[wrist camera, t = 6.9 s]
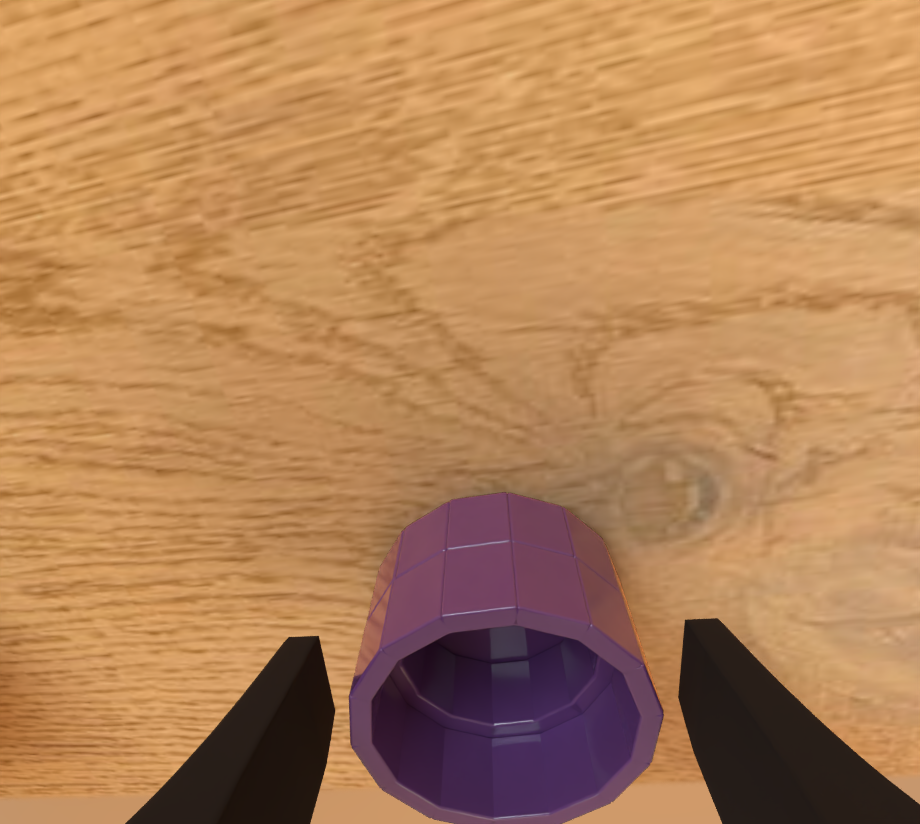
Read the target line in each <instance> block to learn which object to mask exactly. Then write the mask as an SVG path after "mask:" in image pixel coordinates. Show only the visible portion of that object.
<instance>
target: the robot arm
mask: <svg viewBox="0 0 920 824" xmlns="http://www.w3.org/2000/svg"><path fill="white" fill-rule="evenodd" d="M678 698H679V702H680V705H681V709H682V713H683V716H684V720H685V724H686V727H687V731H688V734H689V737H690V741H691V744H692V748H693V751H694V754H695V757H696V759H697V762H698V764H699V767H700V769H701V772H702V774H703V777H704V779H705V782H706V784H707V787H708V789H709V792H710V794H711V797H712V799H713V802H714V804H715V807H716V809H717V811H718V814H719V816H720V819H721V821H722V824H920V804H918V803H917V802H916V801H915V800H913V799H912V798H911V797H909V796H908V795H907V794H906V793H904V792H903V791H902V790H901V789H899V788H898V787H897V786H895V785H894V784H893V783H891V782H890V781H889V780H888V779H886V778H885V777H884V776H883V775H882V774H880V773H879V772H878V771H877V770H876V769H874V768H873V767H872V766H871V765H870V764H868V763H867V762H866V761H865V760H864V759H863V758H861V757H860V756H859V755H858V754H857V753H856V752H854V751H853V750H852V749H851V748H850V747H849V746H848V745H847V744H845V743H844V742H843V741H842V740H841V739H840V738H839V737H837V736H836V735H835V734H834V733H833V732H832V731H831V730H830V729H829V728H827V727H826V726H825V725H824V724H823V723H822V722H821V721H820V720H819V719H818V718H817V717H815V716H814V715H813V714H812V713H811V712H810V711H809V710H808V709H807V708H806V707H805V706H804V705H803V704H802V703H801V702H800V701H799V700H798V699H797V698H796V697H795V696H794V695H792V694H791V693H790V692H789V691H788V690H787V689H786V688H785V687H784V686H783V685H782V684H781V683H780V682H779V681H778V680H777V679H776V678H775V677H774V676H773V675H772V674H771V673H770V672H769V671H768V670H767V669H766V668H765V667H764V666H763V665H762V664H761V663H760V662H759V661H758V660H757V659H756V658H755V657H754V655H753V654H752V653H751V652H750V651H749V650H748V649H747V648H746V647H745V646H744V645H743V644H742V643H741V642H740V641H739V640H738V639H737V638H736V637H735V636H734V635H733V634H732V633H731V631H730V630H729V629H728V628H727V627H726V626H725V625H724V624H723V623H722V622H721V621H720V620H718V619H717V618H715V619H693V620H685V626H684V638H683V649H682V661H681V673H680V684H679V696H678ZM334 715H335V707H334V703H333V698H332V694H331V689H330V685H329V680H328V676H327V671H326V667H325V662H324V658H323V653H322V649H321V644H320V640H319V636H306V637H289V638H288V639H287V640H286V641H285V642H284V643H283V644H282V646H281V647H280V648H279V649H278V651H277V652H276V653H275V655H274V656H273V657H272V658H271V660H270V661H269V662H268V664H267V665H266V666H265V667H264V669H263V670H262V671H261V673H260V674H259V675H258V676H257V678H256V679H255V680H254V682H253V683H252V684H251V685H250V687H249V688H248V689H247V690H246V692H245V693H244V694H243V695H242V697H241V698H240V699H239V700H238V701H237V703H236V704H235V705H234V706H233V708H232V709H231V710H230V711H229V712H228V714H227V715H226V716H225V717H224V718H223V720H222V721H221V722H220V723H219V724H218V726H217V727H216V728H215V729H214V730H213V732H212V733H211V734H210V735H209V736H208V737H207V738H206V740H205V741H204V742H203V743H202V744H201V745H200V746H199V747H198V748H197V750H196V751H195V752H194V753H193V754H192V755H191V756H190V757H189V758H188V760H187V761H186V762H185V763H184V764H183V765H182V766H181V767H180V768H179V770H178V771H177V772H176V773H175V774H174V775H173V776H172V777H171V778H170V779H169V780H168V781H167V782H166V783H165V784H164V786H163V787H162V788H161V789H160V790H159V791H158V792H157V793H156V794H155V795H154V796H153V797H152V798H151V799H150V800H149V801H148V802H147V803H146V804H145V805H144V806H143V807H142V808H141V809H140V810H139V811H138V812H137V813H136V814H135V815H134V816H133V817H132V818H131V819H130V820H128V821H127V822H126V823H125V824H310V822H311V819H312V814H313V811H314V808H315V804H316V801H317V797H318V793H319V790H320V786H321V782H322V779H323V775H324V771H325V768H326V764H327V758H328V752H329V746H330V741H331V734H332V728H333V721H334Z"/></svg>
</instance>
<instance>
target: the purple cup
mask: <svg viewBox="0 0 920 824" xmlns="http://www.w3.org/2000/svg"><path fill="white" fill-rule="evenodd" d="M349 715H350V743H351V745H352V749H353V750H354V752H355V753H356V754H357V756H358V757H359V759H360V760H361V762H362V763H363V764H364V766H365V767H366V769H367V770H368V772H369V773H370V775H371V776H372V777H373V779H374V780H375V782H376V783H377V785H378V786H379V787H380V788H382V790H383V791H384V792H386V793H388V794H390V795H391V796H393V797H395V798H396V799H398V800H400V801H401V802H403V803H405V804H406V805H408V806H410V807H412V808H413V809H415V810H417V811H418V812H420V813H422V814H423V815H425V816H427V817H429V818H432V819H434V820H439V821H444V822H449V823H453V824H562V823H565V822H567V821H570V820H572V819H574V818H577V817H579V816H582V815H584V814H586V813H589V812H591V811H594V810H596V809H598V808H601V807H603V806H606V805H608V804H610V803H611V802H613V801H614V800H615V799H616V798H617V797H618V796H619V795H620V794H621V793H622V792H623V791H624V790H625V789H626V788H627V787H628V786H629V785H630V784H631V783H632V782H633V781H634V780H635V779H636V778H637V777H638V776H639V775H640V774H641V773H642V772H643V771H644V770H645V769H646V768H648V767H649V766H650V763H651V762H652V759H653V755H654V751H655V747H656V743H657V739H658V736H659V732H660V728H661V724H662V720H663V716H664V714H663V708H662V705H661V702H660V699H659V696H658V693H657V690H656V687H655V684H654V681H653V678H652V675H651V672H650V669H649V666H648V663H647V660H646V657H645V654H644V651H643V648H642V645H641V642H640V639H639V637H638V634H637V630H636V627H635V624H634V621H633V618H632V615H631V612H630V609H629V606H628V603H627V600H626V597H625V594H624V591H623V588H622V585H621V582H620V580H619V577H618V574H617V572H616V569H615V567H614V564H613V562H612V559H611V557H610V554H609V551H608V549H607V546H606V544H605V543H604V541H603V539H602V537H600V536H599V535H598V534H597V533H595V532H594V531H593V530H592V529H590V528H589V527H588V526H587V525H586V524H584V523H583V522H582V521H581V520H579V519H578V518H577V517H576V516H575V515H573V514H572V513H571V512H570V511H568V510H567V509H566V508H565V507H561V506H559V505H556V504H552V503H548V502H544V501H540V500H536V499H532V498H529V497H525V496H521V495H517V494H513V493H508V494H507V493H506V492H502V493H495V494H488V495H480V496H473V497H466V498H459V499H452V500H450V502H446V503H445V504H443V505H441V506H440V507H438V508H436V509H435V510H433V511H431V512H430V513H428V514H426V515H425V516H423V517H422V518H420V519H418V520H417V521H415V522H413V523H412V524H410V525H408V526H407V527H406V528H405V530H403V531H402V532H401V533H400V535H399V536H398V538H397V540H396V541H395V543H394V545H393V546H392V548H391V549H390V551H389V553H388V554H387V556H386V558H385V559H384V561H383V563H382V564H381V566H380V569H379V571H378V576H377V580H376V584H375V588H374V593H373V597H372V601H371V605H370V610H369V614H368V618H367V623H366V627H365V630H364V634H363V639H362V643H361V647H360V652H359V656H358V660H357V664H356V669H355V673H354V677H353V681H352V686H351V690H350V694H349Z"/></svg>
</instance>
